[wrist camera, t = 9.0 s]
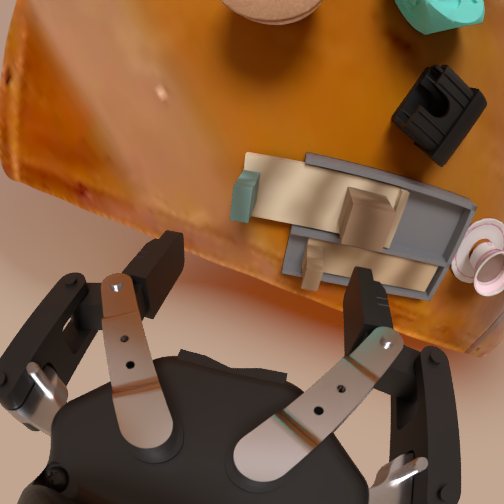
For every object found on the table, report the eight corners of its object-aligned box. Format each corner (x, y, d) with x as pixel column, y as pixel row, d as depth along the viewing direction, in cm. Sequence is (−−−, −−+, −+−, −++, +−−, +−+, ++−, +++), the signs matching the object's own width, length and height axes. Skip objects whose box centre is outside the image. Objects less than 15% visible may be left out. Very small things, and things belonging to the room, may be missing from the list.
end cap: (428, 157, 31) (449, 174, 25) (387, 121, 30) (404, 132, 24) (468, 101, 25) (496, 109, 20) (429, 62, 24) (453, 61, 19)
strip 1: (405, 187, 33) (421, 209, 27) (385, 240, 37) (396, 269, 32) (247, 151, 34) (235, 168, 29) (240, 210, 39) (228, 235, 33)
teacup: (436, 267, 39) (448, 293, 34) (477, 203, 32) (497, 224, 27) (479, 289, 40) (492, 313, 34) (518, 235, 33) (536, 257, 28)
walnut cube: (385, 196, 33) (396, 214, 29) (374, 230, 36) (381, 252, 32) (347, 186, 33) (353, 203, 29) (337, 222, 36) (341, 243, 32)
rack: (469, 199, 32) (477, 206, 30) (425, 290, 42) (429, 301, 40) (306, 152, 34) (306, 157, 32) (283, 263, 43) (281, 273, 41)
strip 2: (436, 262, 37) (450, 290, 32) (422, 287, 40) (433, 317, 35) (309, 233, 39) (308, 262, 34) (301, 263, 42) (299, 294, 36)
